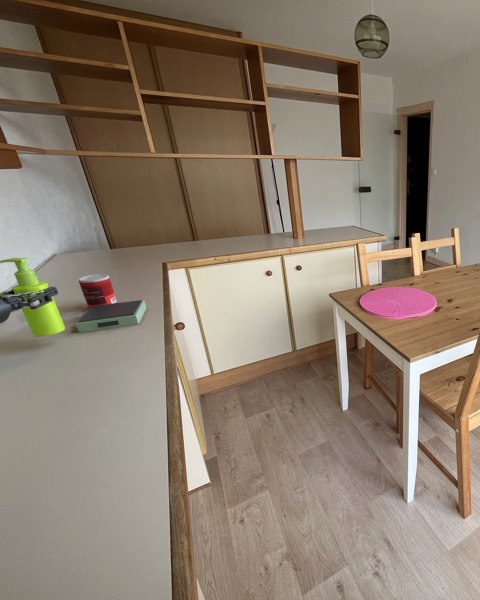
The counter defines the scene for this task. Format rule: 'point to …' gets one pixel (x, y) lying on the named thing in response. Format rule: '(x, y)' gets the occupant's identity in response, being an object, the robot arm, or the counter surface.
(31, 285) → the soap dispenser
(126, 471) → the counter surface
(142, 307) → the scale
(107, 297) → the canned food
